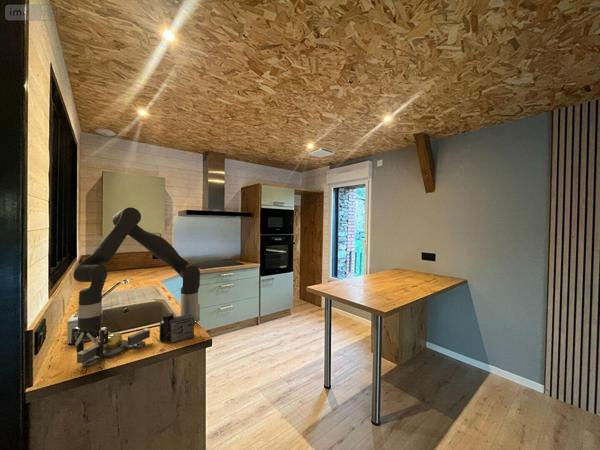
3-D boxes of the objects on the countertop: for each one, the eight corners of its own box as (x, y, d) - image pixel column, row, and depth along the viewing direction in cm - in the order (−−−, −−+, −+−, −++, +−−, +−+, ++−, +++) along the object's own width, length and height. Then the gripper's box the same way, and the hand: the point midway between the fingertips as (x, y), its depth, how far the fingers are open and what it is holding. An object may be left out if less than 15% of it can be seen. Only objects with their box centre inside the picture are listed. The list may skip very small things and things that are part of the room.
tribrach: (121, 335, 123) (121, 321, 123) (147, 345, 113) (147, 330, 113) (64, 356, 103) (64, 340, 103) (90, 370, 93) (90, 352, 93)
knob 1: (97, 353, 102) (97, 342, 102) (103, 354, 102) (103, 342, 102) (76, 365, 94) (76, 352, 94) (82, 366, 94) (82, 353, 94)
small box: (191, 333, 126) (191, 313, 126) (194, 338, 120) (194, 317, 120) (168, 339, 119) (168, 317, 119) (170, 344, 114) (170, 322, 114)
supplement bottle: (171, 342, 116) (172, 317, 116) (156, 343, 115) (156, 317, 115) (177, 335, 123) (177, 312, 123) (163, 336, 122) (163, 312, 122)
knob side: (111, 342, 112) (111, 331, 112) (104, 344, 110) (104, 333, 110) (104, 337, 117) (105, 326, 117) (98, 339, 115) (98, 328, 115)
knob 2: (131, 347, 108) (131, 336, 108) (127, 346, 109) (127, 335, 109) (149, 339, 116) (149, 329, 116) (146, 338, 117) (146, 328, 116)
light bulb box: (71, 335, 122) (71, 314, 122) (88, 332, 126) (88, 311, 126) (66, 344, 113) (66, 321, 113) (85, 340, 117) (85, 318, 117)
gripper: (64, 316, 95) (64, 358, 95) (97, 318, 94) (96, 360, 93) (83, 309, 103) (83, 348, 103) (114, 311, 101) (114, 350, 101)
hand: (89, 354), depth 98 cm, fingers open, 8 cm apart
